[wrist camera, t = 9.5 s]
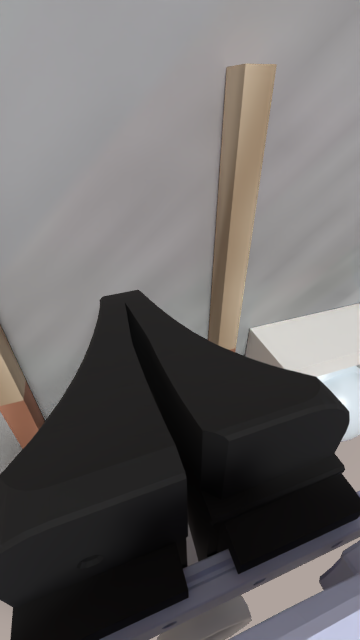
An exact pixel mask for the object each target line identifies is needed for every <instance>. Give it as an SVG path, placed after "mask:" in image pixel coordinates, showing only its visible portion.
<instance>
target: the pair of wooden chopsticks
mask: <svg viewBox="0 0 360 640" xmlns="http://www.w3.org/2000/svg"><path fill="white" fill-rule="evenodd" d="M275 72H276V65H275V64H241V65H236V66H230V67H227V72H226V87H225V101H224V116H223V130H222V145H221V159H220V174H219V189H218V203H217V218H216V232H215V247H214V261H213V276H212V291H211V305H210V320H209V334H208V340H209V341H211V342H213V343H215V344H217V345H219V346H221V347H223V348H226V349H228V350H231V351H233V352H235V349H236V342H237V335H238V328H239V321H240V314H241V307H242V301H243V294H244V287H245V280H246V273H247V266H248V259H249V252H250V245H251V238H252V231H253V224H254V217H255V211H256V204H257V197H258V190H259V183H260V176H261V169H262V162H263V155H264V148H265V141H266V134H267V127H268V121H269V114H270V107H271V100H272V93H273V86H274V79H275ZM0 411H1V413H2V415H3V416H4V418H5V420H6V422H7V423H8V425H9V427H10V428H11V430H12V432H13V433H14V435H15V437H16V438H17V440H18V442H19V443H20V445H21V447H22V449H23V448H24V447H25V446H26V445H27V444H28V443H29V441H30V440H31V439H32V438H33V437H34V435H35V434H36V433H37V432H38V430H39V429H40V428H41V426H42V425H43V424H44V422H45V420H44V418H43V416H42V414H41V412H40V410H39V408H38V405H37V403H36V401H35V399H34V397H33V395H32V392H31V390H30V388H29V386H28V384H27V382H26V379H25V377H24V375H23V373H22V371H21V369H20V366H19V364H18V362H17V360H16V358H15V356H14V353H13V351H12V349H11V347H10V345H9V343H8V341H7V338H6V336H5V334H4V332H3V330H2V328H1V325H0Z"/></svg>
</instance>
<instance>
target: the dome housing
mask: <svg viewBox="0 0 360 640" xmlns="http://www.w3.org/2000/svg"><path fill="white" fill-rule="evenodd" d="M245 356H246V357H248V358H251V359H254V360H257V361H260V362H263V363H266V364H269V365H272V366H276V367H279V368H283V369H287V370H291V371H295V372H300V373H304V374H308V375H312V376H316V377H319V376H322V375H325V374H329V373H332V372H335V371H339V370H342V369H346V368H349V367H352V366H357V367H358V368H359V369H360V303H358V304H354V305H350V306H345V307H341V308H337V309H332V310H328V311H324V312H319V313H315V314H310V315H306V316H302V317H297V318H293V319H289V320H284V321H280V322H276V323H271V324H267V325H263V326H258V327H254V328H250V331H249V336H248V342H247V348H246V354H245Z"/></svg>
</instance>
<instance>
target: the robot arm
mask: <svg viewBox="0 0 360 640" xmlns="http://www.w3.org/2000/svg"><path fill="white" fill-rule="evenodd" d="M349 421H350V415H349V411H348V409H347V408H346V407H345V406H344V405H343V404H342V402H341V401H340V400H339V399H338V398H337V397H336V396H335V395H334V394H333V393H332V392H331V391H330V389H329V388H327V387H326V386H325V385H324V384H323V383H322V382H321V381H320V380H319V379H318V378H317V377H316V376H312V375H308V374H304V373H300V372H295V371H291V370H287V369H283V368H279V367H276V366H272V365H269V364H266V363H263V362H260V361H257V360H254V359H251V358H248V357H246V356H243V355H240V354H238V353H235V352H233V351H231V350H228V349H226V348H223V347H221V346H219V345H217V344H215V343H213V342H211V341H209V340H207V339H205V338H203V337H201V336H199V335H197V334H196V333H194V332H192V331H191V330H189V329H188V328H186V327H185V326H183V325H182V324H180V323H179V322H177V321H176V320H174V319H173V318H172V317H170V316H169V315H168V314H166V313H165V312H164V311H163V310H161V309H160V308H159V307H158V306H156V305H155V304H154V303H153V302H152V301H151V300H149V299H148V298H147V297H146V296H145V295H144V294H143V293H142V292H141V291H139V290H135V291H130V292H124V293H119V294H114V295H109V296H104V297H102V298H101V299H100V310H99V315H98V320H97V324H96V327H95V330H94V334H93V337H92V339H91V342H90V345H89V347H88V350H87V352H86V355H85V357H84V359H83V361H82V363H81V365H80V367H79V369H78V371H77V373H76V375H75V377H74V379H73V380H72V382H71V384H70V385H69V387H68V389H67V390H66V392H65V394H64V395H63V397H62V398H61V400H60V401H59V403H58V404H57V406H56V407H55V409H54V410H53V411H52V413H51V414H50V415H49V417H48V418H47V419H46V421H45V422H44V424H43V425H42V426H41V428H40V429H39V430H38V432H37V433H36V434H35V435H34V437H33V438H32V439H31V440H30V441H29V443H28V444H27V445H26V446H25V447H24V448H23V450H22V451H21V452H20V453H19V454H18V455H17V456H16V458H15V459H14V460H13V461H12V462H11V463H10V464H9V466H8V467H7V468H6V469H5V470H4V471H3V472H2V473H1V474H0V600H1V601H3V602H5V603H7V604H9V605H10V606H12V607H13V616H12V628H11V640H149V639H151V638H153V637H155V636H157V635H159V634H161V633H163V632H166V631H168V630H170V629H172V628H174V627H176V626H178V625H180V624H182V623H184V622H186V621H188V620H190V619H192V618H194V617H196V616H198V615H200V614H203V613H205V612H207V611H209V610H211V609H213V608H215V607H217V606H219V605H221V604H223V603H225V602H227V601H229V600H231V599H233V598H235V597H237V596H239V595H242V594H244V593H246V592H248V591H250V590H252V589H254V588H256V587H258V586H260V585H262V584H264V583H266V582H268V581H270V580H272V579H274V578H276V577H278V576H281V575H282V574H284V573H287V572H289V571H291V570H293V569H295V568H297V567H299V566H301V565H303V564H305V563H307V562H309V561H311V560H313V559H315V558H317V557H319V556H321V555H324V554H326V553H328V552H330V551H332V550H334V549H336V548H338V547H340V546H342V545H344V544H346V543H348V542H350V541H352V540H354V539H356V538H358V537H360V491H358V492H355V490H354V489H353V488H352V486H351V485H350V484H349V482H347V480H346V479H345V477H344V476H343V475H342V473H343V472H344V470H345V468H344V465H343V464H342V463H341V461H340V460H339V459H338V457H337V456H336V455H335V454H334V453H335V451H336V449H337V447H338V445H339V444H340V442H341V440H342V438H343V436H344V435H345V433H346V431H347V428H348V425H349ZM188 525H189V528H190V532H191V536H192V539H193V543H194V547H195V550H196V554H197V558H198V562H197V563H194V564H192V565H190V566H188V565H187V541H186V537H188ZM319 582H320V584H321V586H322V587H323V590H324V591H322V592H320V593H318V594H316V595H314V596H312V597H310V598H308V599H306V600H304V601H302V602H300V603H298V604H296V605H294V606H292V607H290V608H288V609H286V610H284V611H282V612H280V613H278V614H276V615H274V616H272V617H271V618H269V619H267V620H265V621H263V622H261V623H259V624H257V625H255V626H253V627H251V628H249V629H248V630H246V631H244V632H242V633H240V634H238V635H236V636H234V637H232V638H231V639H229V640H360V541H358V542H357V543H355V544H353V545H352V546H350V547H349V548H347V549H345V550H344V551H343V553H342V555H341V558H340V559H339V560H338V561H337V562H336V563H335V564H334V565H333V566H332V567H331V568H330V569H329V570H328V571H326V572H325V573H324V574H323V575H322V576H320V580H319Z"/></svg>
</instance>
